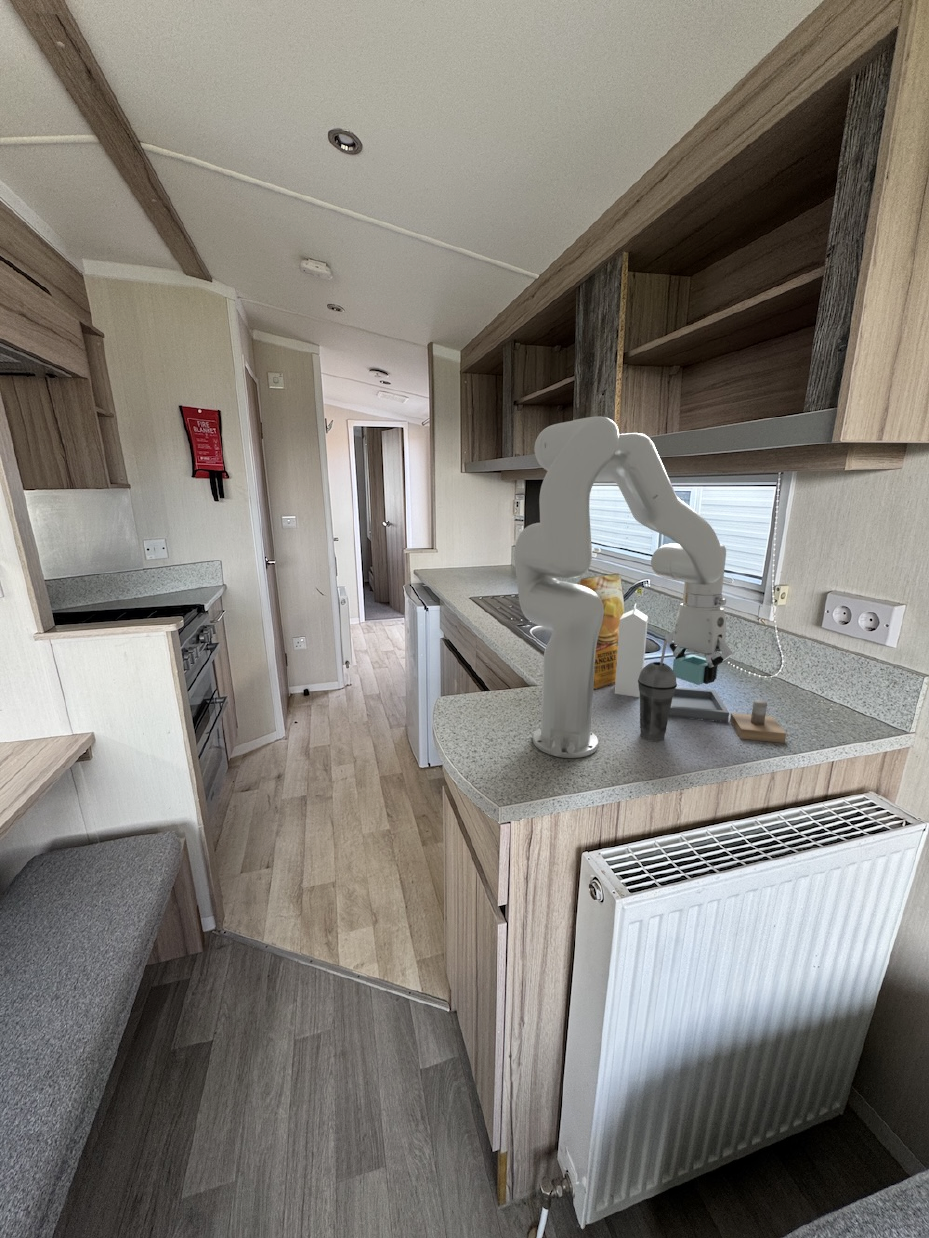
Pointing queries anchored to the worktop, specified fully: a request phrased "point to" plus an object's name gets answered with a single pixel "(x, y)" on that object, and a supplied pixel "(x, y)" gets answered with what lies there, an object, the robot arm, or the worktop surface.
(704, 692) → the tray
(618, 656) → the milk
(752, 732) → the wooden peg base
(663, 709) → the beverage cup
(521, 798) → the worktop surface
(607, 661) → the pancake mix bag
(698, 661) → the collar
